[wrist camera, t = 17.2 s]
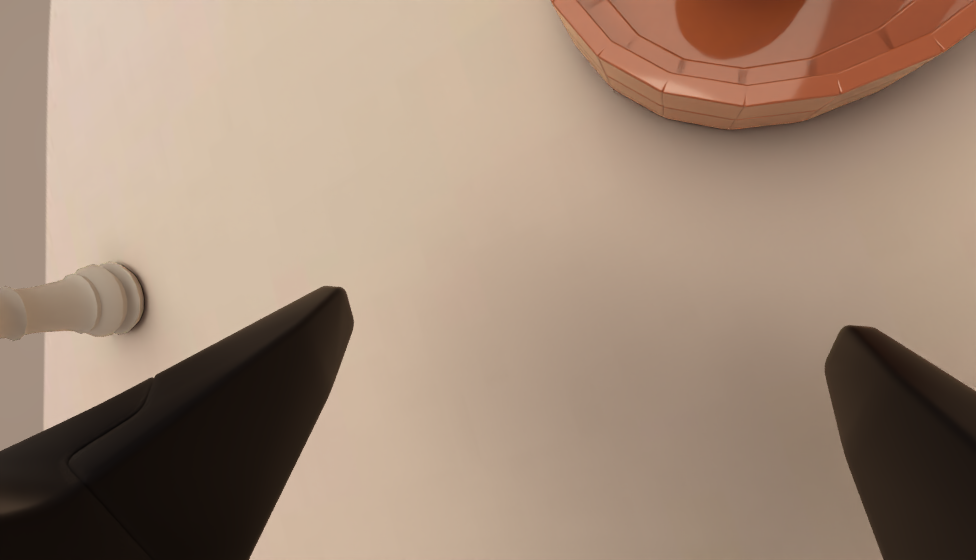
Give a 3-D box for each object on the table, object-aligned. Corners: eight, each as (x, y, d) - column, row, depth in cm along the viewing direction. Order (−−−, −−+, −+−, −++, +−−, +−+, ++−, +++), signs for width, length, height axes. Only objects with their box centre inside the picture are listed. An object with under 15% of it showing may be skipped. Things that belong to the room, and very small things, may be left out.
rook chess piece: (102, 331, 31) (-76, 367, 24) (93, 261, 31) (-92, 275, 23) (151, 334, 30) (-22, 373, 22) (143, 260, 29) (-38, 275, 22)
